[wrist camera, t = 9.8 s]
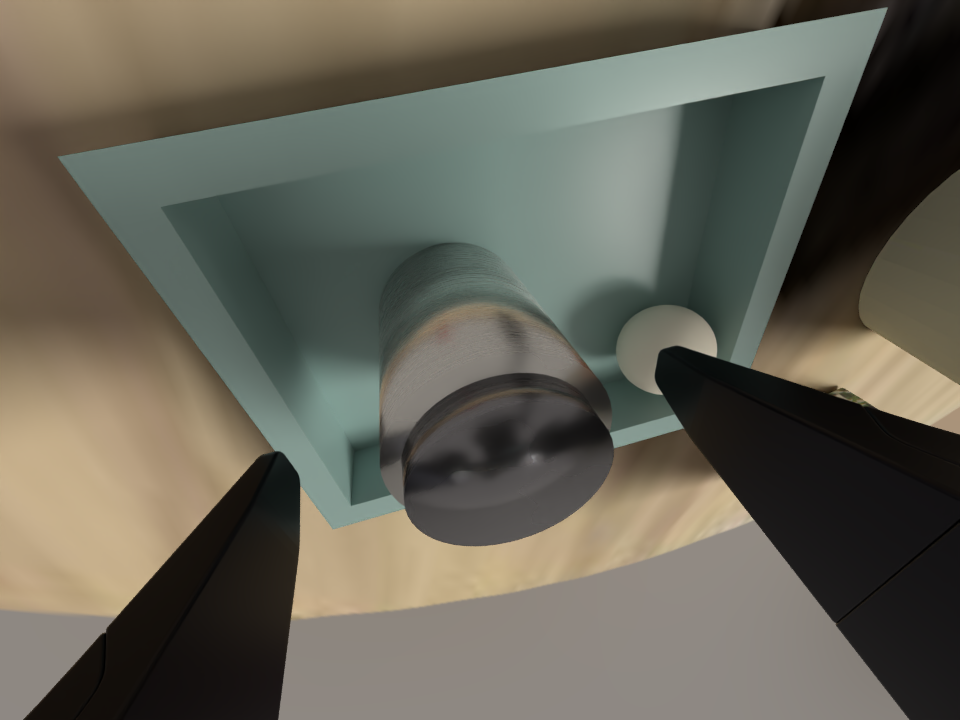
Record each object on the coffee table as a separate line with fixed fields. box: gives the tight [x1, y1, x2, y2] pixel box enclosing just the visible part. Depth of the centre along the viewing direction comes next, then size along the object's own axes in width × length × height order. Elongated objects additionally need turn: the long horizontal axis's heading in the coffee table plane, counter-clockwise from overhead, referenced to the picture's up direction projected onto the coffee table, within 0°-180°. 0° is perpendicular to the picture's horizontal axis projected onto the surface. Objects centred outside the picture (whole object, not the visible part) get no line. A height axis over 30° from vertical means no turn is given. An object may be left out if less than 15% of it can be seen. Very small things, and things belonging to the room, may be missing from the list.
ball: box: [616, 305, 717, 395], centre depth 13 cm, size 3×3×3 cm
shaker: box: [379, 243, 614, 546], centre depth 10 cm, size 5×5×7 cm
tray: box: [58, 7, 888, 529], centre depth 12 cm, size 16×12×3 cm
